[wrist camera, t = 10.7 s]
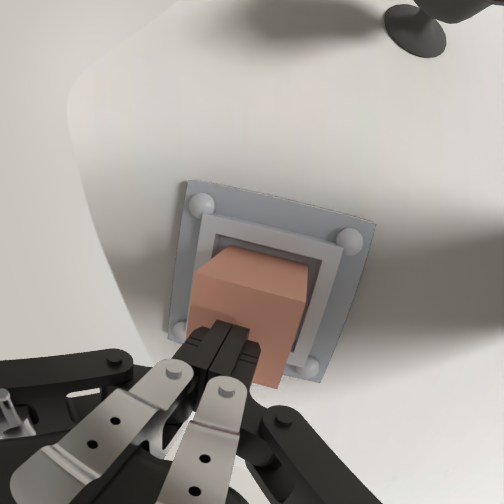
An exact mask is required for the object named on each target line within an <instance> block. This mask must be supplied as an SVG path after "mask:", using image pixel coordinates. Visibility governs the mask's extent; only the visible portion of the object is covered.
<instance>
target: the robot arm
mask: <svg viewBox="0 0 504 504" xmlns="http://www.w3.org/2000/svg"><path fill="white" fill-rule="evenodd" d="M249 333H250V329H249V328H246V327H242V326H239V325H235V324H234V325H233V324H232V323H228V322H225V321H222V320H218V319H217V320H216V321H215V322H214V324H213V325H212V327H211V328H207V327H204V326H201V327H199V328H197V329H195V330H193V332H192V333H191V334H190V335H189V338H187V339H186V341H185V343H183V344H182V346H181V347H180V348H179V350H178V351H177V352H176V353H175V355H174V356H173V357H172V359H164V360H161V361H159V362H158V363H157V364H156V365H155V366H154V367H145V366H140V365H134V364H133V359H132V357H131V355H129V354H128V353H127V352H125V351H123V350H120V349H105V350H98V351H90V352H83V353H75V354H67V355H59V356H49V357H40V358H29V359H17V360H3V361H0V504H249V503H248V502H247V501H246V500H245V499H244V498H243V497H242V496H241V495H240V494H239V493H238V492H236V491H235V490H234V489H232V488H231V487H229V483H230V478H231V474H232V469H233V465H234V460H235V455H238V456H239V457H241V458H243V459H244V460H245V463H246V466H247V468H248V470H249V471H250V473H251V474H252V476H253V478H254V479H255V481H256V482H257V484H258V485H259V487H260V488H261V490H262V492H263V493H264V494H265V496H266V497H267V499H268V500H269V502H270V503H271V504H382V503H381V502H380V501H379V500H378V499H377V498H376V497H375V496H374V495H373V494H372V493H371V492H370V491H369V490H368V488H367V487H366V486H365V485H364V484H363V483H362V482H361V481H360V480H359V479H358V478H357V477H356V476H355V475H354V474H353V473H352V472H351V471H350V470H349V468H348V467H347V466H346V465H345V464H344V463H343V462H342V461H341V460H340V459H339V458H338V456H337V455H336V454H335V453H334V452H333V451H332V450H331V449H330V448H329V446H328V445H327V444H326V443H325V442H324V441H323V440H322V438H321V437H320V436H319V435H318V434H317V433H316V432H315V430H314V429H313V428H312V427H311V426H310V425H309V423H308V422H307V421H306V420H305V419H304V418H303V416H302V415H301V414H300V413H299V412H298V411H296V410H295V409H293V408H291V407H287V406H282V405H276V406H272V407H269V408H268V409H267V408H265V407H263V406H261V405H260V404H258V403H257V402H256V401H255V400H254V399H253V398H252V397H251V395H250V392H249V390H250V387H251V383H252V380H253V377H254V374H255V370H256V367H257V364H258V360H259V357H260V353H261V348H260V345H259V343H258V342H254V341H251V340H248V337H249ZM94 388H100V393H97V394H91V395H85V396H79V397H72V398H68V397H66V395H67V394H69V393H71V392H77V391H83V390H89V389H94ZM192 411H195V412H196V413H195V416H194V419H193V421H192V420H190V422H189V423H188V426H187V428H186V431H185V433H184V435H183V438H182V440H181V443H180V445H179V448H178V450H177V453H176V455H175V457H174V460H173V461H169V460H164V458H165V456H166V454H167V453H168V451H169V449H170V448H171V447H172V446H173V444H174V443H175V441H176V440H177V438H178V437H179V435H180V434H181V432H182V431H183V429H184V428H185V426H186V425H187V421H188V418H189V416H190V414H191V413H192Z"/></svg>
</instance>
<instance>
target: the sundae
mask: <svg viewBox="0 0 504 504" xmlns="http://www.w3.org/2000/svg"><path fill="white" fill-rule="evenodd" d="M414 2H415V3H416V4H417V5H418V6H419V7H420V8H418V7H416V6H412V5H408V4H401V5H396V6H393V7H391V8H390V9H389V10H388V11H387V13H386V15H385V25H386V28H387V30H388V32H389V34H390V35H391V37H392V38H393V39H394V40H395V41H396V42H397V43H398V44H399V45H400V46H401V47H403V48H404V49H406V50H407V51H409V52H411V53H412V54H415V55H418V56H421V57H436V56H438V55H440V54H441V53H443V51H444V50H445V47H446V36H445V33H444V31H443V29H442V27H441V26H440V24H439V23H438V22H437V21H436V20H435V19H437V20H440V21H442V22H445V23H449V24H453V23H459V22H461V21H463V20H466V19H468V18H471V17H472V16H474V15H475V14H477V13H479V12H480V11H482V10H483V9H485V8H487V7H488V6H490V5H492V4H494V5H502V6H504V0H414Z"/></svg>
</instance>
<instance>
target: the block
mask: <svg viewBox="0 0 504 504" xmlns="http://www.w3.org/2000/svg"><path fill="white" fill-rule="evenodd" d="M307 277H308V264H305V263H301V262H297V261H293V260H290V259H286V258H282V257H278V256H274V255H270V254H266V253H262V252H258V251H254V250H250V249H247V248H243V247H239V246H235V245H231V244H230V245H229V246H228V247H226V248H225V249H224V250H222V251H221V252H220V253H219V254H217V255H216V256H215V257H214V258H212V259H211V260H210V261H208V262H207V263H206V264H205V265H203V266H202V267H201V268H199V269H198V270H197V271H196V272H195V274H194V281H193V288H192V295H191V302H190V310H189V317H188V325H187V333H186V339H187V338H189V335H190V334H191V333H192V332H193V330H195V329H197V328H199V327H201V326H204V327H207V328H211V327H212V325H213V324H214V322H215V321H216V320H217V319H218V320H222V321H225V322H228V323H232V324H233V325H234V324H235V325H239V326H242V327H246V328H249V329H250V333H249V337H248V340H251V341H254V342H258V343H259V345H260V348H261V353H260V357H259V360H258V364H257V367H256V370H255V374H254V377H253V380H252V383H256V384H260V385H264V386H267V387H271V388H275V389H277V388H278V385H279V383H280V380H281V377H282V374H283V371H284V368H285V366H286V363H287V360H288V357H289V354H290V351H291V348H292V345H293V342H294V339H295V336H296V333H297V330H298V327H299V323H300V320H301V317H302V314H303V311H304V307H305V304H306V295H307Z"/></svg>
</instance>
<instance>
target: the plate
mask: <svg viewBox="0 0 504 504" xmlns="http://www.w3.org/2000/svg"><path fill="white" fill-rule="evenodd" d="M375 227H376V224H375V223H374V222H372V221H368V220H365V219H361V218H358V217H354V216H350V215H347V214H343V213H339V212H336V211H332V210H328V209H324V208H320V207H316V206H312V205H308V204H304V203H300V202H296V201H292V200H288V199H284V198H280V197H275V196H271V195H266V194H262V193H258V192H253V191H249V190H244V189H239V188H234V187H230V186H225V185H220V184H215V183H210V182H205V181H200V180H188V184H187V190H186V195H185V201H184V207H183V213H182V220H181V226H180V233H179V240H178V247H177V254H176V262H175V270H174V278H173V287H172V296H171V305H170V316H169V327H168V339H169V340H172V341H175V342H177V343H180V344H183V343H185V341H186V333H187V325H188V317H189V310H190V302H191V295H192V288H193V281H194V274H195V272H196V271H197V270H198V269H199V268H201V267H202V266H203V265H205V264H206V263H207V262H208V261H210V260H211V259H212V258H214V257H215V256H216V255H217V254H219V253H220V252H221V251H222V250H224V249H225V248H226V247H228V246H229V245H230V244H231V245H235V246H239V247H243V248H247V249H250V250H254V251H258V252H262V253H266V254H270V255H274V256H278V257H282V258H286V259H290V260H293V261H297V262H301V263H305V264H308V277H307V295H306V304H305V307H304V311H303V314H302V317H301V320H300V323H299V327H298V330H297V333H296V336H295V339H294V342H293V345H292V348H291V351H290V354H289V357H288V360H287V363H286V366H285V368H284V371H283V375H287V376H291V377H295V378H300V379H304V380H309V381H313V382H318V383H320V382H321V380H322V378H323V375H324V373H325V371H326V368H327V366H328V364H329V361H330V359H331V356H332V354H333V352H334V349H335V347H336V344H337V342H338V339H339V336H340V334H341V331H342V329H343V326H344V323H345V321H346V318H347V315H348V312H349V310H350V307H351V304H352V301H353V298H354V295H355V293H356V290H357V287H358V284H359V281H360V277H361V274H362V271H363V268H364V265H365V262H366V258H367V255H368V252H369V248H370V245H371V241H372V238H373V234H374V231H375Z"/></svg>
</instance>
